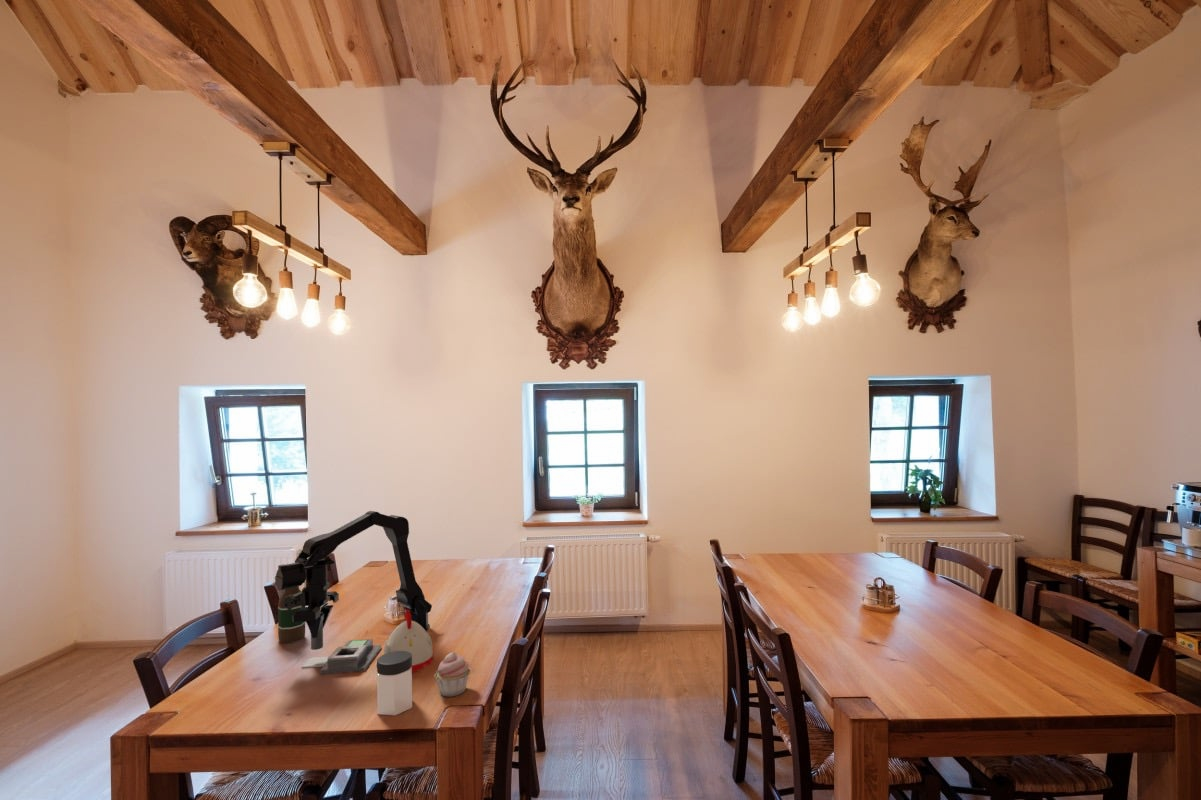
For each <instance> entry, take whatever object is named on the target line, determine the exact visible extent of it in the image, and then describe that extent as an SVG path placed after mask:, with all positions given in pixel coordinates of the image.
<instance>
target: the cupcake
mask: <svg viewBox="0 0 1201 800" xmlns="http://www.w3.org/2000/svg"><path fill="white" fill-rule="evenodd" d="M435 672H436V673H435V674H434V677H435V680H436V683H437V685H438V689H439V693H440V695H441V696H443V697H447V698H449V697H457V696H459V695H462V694H463V693H464V692H465V690H466V688H467V684H468V679H469V676H470V673H471V672H472V669H471V668H469V662H468V661H466V660H465V659H464V657H463V656H461V655H459V654H456V653H455V651H452V652H450V653H449V654H446V656H445V657H444V659H443V660H442V661H440V663H439V665H438V668H437V670H436V671H435Z"/></svg>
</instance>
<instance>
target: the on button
mask: <svg viewBox="0 0 1201 800" xmlns="http://www.w3.org/2000/svg"><path fill="white" fill-rule="evenodd" d="M361 640H362V641H352V642H351V643H350V644H349V645H348V646H361V645H365V644H366V643H367V640H363V639H361Z"/></svg>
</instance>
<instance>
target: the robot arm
mask: <svg viewBox="0 0 1201 800" xmlns="http://www.w3.org/2000/svg"><path fill="white" fill-rule="evenodd" d="M409 523H410V522H409V520H408V519H407V518H406V517H404V516H400V515H393V514H390V515H387V514H383V513H381V512H379V511H375V510H369V511H367V512H365V513H364V514H362V515H361V516H358V517H357V518H355V519H353V520H351V521H349V522H347V523H345V524H344V525H342V526H341V527H339V528H337V529H335V530H333V531H330V532H326V533H323V534H319V535H315V536H314V537H311V538H308V539H307V540H306V541H305V542H303V545H302V550H301V551H300V553H299V554H298V555H297V557H296V559H294V562H292V563H287V564H284V563H283V564H279V565H277V570H276V573H275V576H274V582H275V587H276V588H277V590H278V591H282V590H283V591H284V589H288V588H292V587H297V586H299V587H300V586H302V585H303V584H304V583H305V586H304V587H303V588H302V589H301V591H302V592H299V593H297V594H294V595H292V594H291V595H289V596H286V597H285V598H284V601H283V607H285V608H287V610H291V609H292V608H294V607H296V606H299V605H301V608H300V609H298V610H297V611H296V612H295V613H294V614H293V615H292V622H304V621H305V624H306V625H307V627H308V629H309V633H310V636H311V635H312V638H316V637H317V635H318V632H319V629H320V626H321V623H322V620H323V629H325V625H326V623H327V621H328V618H329V616H330V615H331V612H332V610H333V608H334V604H336V603H337V602H338V601H339V593H338V592H337V591H335V590H333V591H328V588H329V587H330V586H331V584H330V583H331V582H328V566H330V565H334V564H335V562H336V561H334V560H333V559H332V558H330V556H329V555H330V554H332V553H333V552H334V551H335V550H336V549H337V548H338V546H340V545H341V544H343V543H345V542H347V541H348V540H350V539H351V538H353V537H355V536H357V535H358V534H360V533H362V532H364V531H365V530H367V529H369V528H371V527H373V526H378V527H381V528H383V531H384V533H385V535H386V537H387V539H388V540H389V541H390V543H391V544H392V550H393V553H394V558H395V564H396V568H397V571H398V572H397V573H398V576H399V581H400V586H399V589H397V590H395V594H396V596H397V602H398V603H399V604H400V605H401V606H402V607H403V608H404V610H405V611H406V610H408V609H409V611H410V613H411V619H412V621H414V622H417V623H418V624H419V625H421V626H422V627H423V628H424V630H425V631H426V632H427V631H428V628H429V627H430V623H429V613H430V612H431V611H432V606H433V604H431V603H430V602H428V601H427V600H426V598H425V595H424V592H423V589H422V588H421V586H420V585H419V583H418V582H417V580H416V577H415V573H414V572H415V571H414V568H413V562H412V559H411V558H412V557H411V553H410V548H409V542H408V539H409V534H410V525H409ZM331 601H332V602H333V603H334V604H332V605H329V604H330V603H328V602H331ZM304 606H305V607H304ZM320 611H322V612H323V614H320ZM323 617H324V619H323Z"/></svg>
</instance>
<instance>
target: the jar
mask: <svg viewBox="0 0 1201 800" xmlns="http://www.w3.org/2000/svg"><path fill="white" fill-rule="evenodd" d="M376 672H377V674H376V676H377V677H376V682H377V683H376V684H377V685H376V686H377V687H376V690H377V691H376V693H377V699H376V700H377V706H376V707H377V715H382V716H393V717H394V716H398V715H400V714H401V713H403V712H406V711H408V710H410V709H412V708H413V675H412V654H411V653H410V652H407V651H394V652H389V653H386V654H384V655H383V654H382V655H380V656H379V657H378V658H377V659H376Z"/></svg>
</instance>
